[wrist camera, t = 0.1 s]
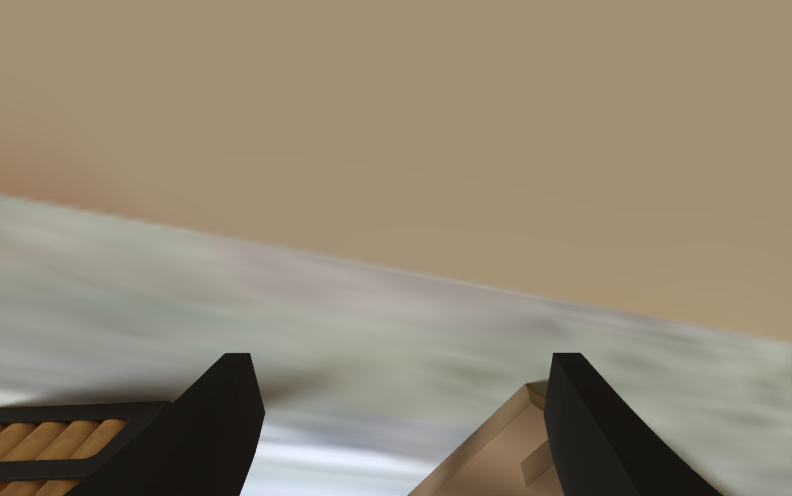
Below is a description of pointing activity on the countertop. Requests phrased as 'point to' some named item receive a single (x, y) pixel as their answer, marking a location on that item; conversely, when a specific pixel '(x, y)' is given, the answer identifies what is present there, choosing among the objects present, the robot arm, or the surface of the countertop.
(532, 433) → the cradle block
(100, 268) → the countertop surface
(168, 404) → the ammunition clip
